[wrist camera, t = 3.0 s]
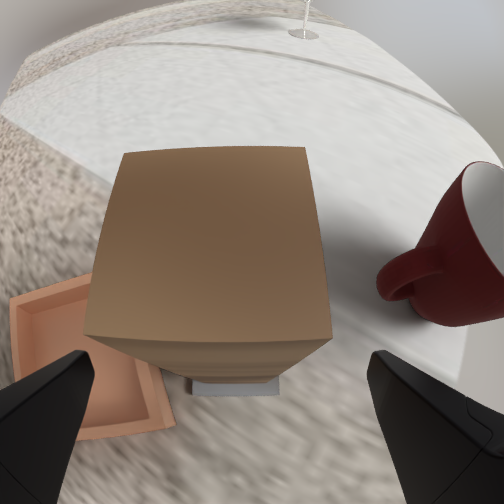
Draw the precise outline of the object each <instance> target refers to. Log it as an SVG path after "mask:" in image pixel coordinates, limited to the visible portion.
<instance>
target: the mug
mask: <svg viewBox="0 0 504 504" xmlns="http://www.w3.org/2000/svg"><path fill="white" fill-rule="evenodd" d="M376 284H377V289H378V292H379V294H380V296H381V297H382V298H383V299H385V300H386V301H398V300H402V299H406V298H409V301H410V304H411V306H412V307H413V309H414V310H415V311H416V312H417V313H418V314H419V315H420V316H421V317H423V318H425V319H427V320H429V321H431V322H434V323H436V324H439V325H443V326H448V327H458V326H465V325H470V324H476V323H480V322H485V321H490V320H495V319H499V318H503V317H504V169H502V168H500V167H498V166H496V165H494V164H491V163H488V162H482V161H478V162H473V163H470V164H469V165H467V166H466V167H465V168H464V170H463V171H462V172H461V173H460V175H459V176H458V177H457V178H456V180H455V181H454V182H453V183H452V185H451V186H450V187H449V189H448V190H447V191H446V193H445V194H444V196H443V197H442V199H441V200H440V202H439V204H438V205H437V207H436V209H435V211H434V213H433V215H432V217H431V219H430V221H429V223H428V225H427V227H426V229H425V231H424V233H423V235H422V237H421V238H420V240H419V242H418V244H417V246H416V248H415V249H412V250H410V251H407V252H405V253H403V254H401V255H400V256H398V257H396V258H394V259H393V260H391V261H390V262H388V263H387V264H386V265H385V266H384V267H383V268H382V269H381V270H380V272H379V274H378V275H377V280H376Z"/></svg>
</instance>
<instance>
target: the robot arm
mask: <svg viewBox="0 0 504 504" xmlns="http://www.w3.org/2000/svg"><path fill="white" fill-rule="evenodd" d="M94 378H95V371H94V367H93V365H92V362H91V359H90V356H89V353H88V352H87V351H85V350H74V351H72V352H70V353H68V354H67V355H65V356H63V357H61V358H59V359H57V360H56V361H54V362H52V363H50V364H48V365H46V366H44V367H43V368H41V369H39V370H37V371H35V372H33V373H32V374H30V375H28V376H26V377H24V378H22V379H20V380H19V381H17V382H15V383H13V384H11V385H9V386H8V387H6V388H4V389H2V390H0V504H57V501H58V497H59V493H60V490H61V486H62V483H63V479H64V476H65V472H66V469H67V466H68V463H69V459H70V456H71V453H72V450H73V447H74V444H75V441H76V438H77V435H78V432H79V430H80V427H81V424H82V421H83V418H84V415H85V412H86V408H87V404H88V400H89V396H90V393H91V389H92V385H93V381H94ZM367 380H368V384H369V387H370V391H371V395H372V399H373V404H374V408H375V412H376V415H377V418H378V421H379V424H380V427H381V430H382V432H383V435H384V438H385V441H386V443H387V446H388V449H389V452H390V455H391V458H392V460H393V463H394V466H395V469H396V472H397V475H398V478H399V481H400V484H401V487H402V490H403V493H404V497H405V500H406V503H407V504H504V415H503V414H501V413H498V412H496V411H494V410H492V409H490V408H488V407H485V406H484V405H482V404H480V403H478V402H476V401H474V400H473V399H471V398H469V397H465V395H463V394H462V393H460V392H458V391H456V390H455V389H453V388H451V387H449V386H447V385H446V384H444V383H442V382H440V381H439V380H437V379H435V378H433V377H431V376H430V375H428V374H426V373H424V372H423V371H421V370H419V369H417V368H416V367H414V366H412V365H410V364H409V363H407V362H405V361H403V360H402V359H400V358H398V357H396V356H395V355H393V354H391V353H390V352H388V351H386V350H380V351H374V352H373V353H372V355H371V358H370V362H369V366H368V369H367Z"/></svg>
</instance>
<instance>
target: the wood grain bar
mask: <svg viewBox="0 0 504 504" xmlns="http://www.w3.org/2000/svg"><path fill="white" fill-rule="evenodd" d="M83 335H85V336H87V337H89V338H91V339H93V340H96V341H98V342H100V343H102V344H104V345H106V346H109V347H111V348H113V349H115V350H118V351H120V352H122V353H125V354H127V355H129V356H132V357H134V358H137V359H139V360H142V361H144V362H147V363H149V364H152V365H154V366H157V367H160V368H162V369H165V370H168V371H170V372H173V373H176V374H179V375H182V376H185V377H187V378H190V379H193V388H192V395H198V396H269V395H279V375H280V374H281V373H283V372H284V371H286V370H287V369H289V368H291V367H292V366H294V365H295V364H297V363H298V362H300V361H301V360H302V359H304V358H305V357H307V356H308V355H310V354H311V353H313V352H314V351H315V350H317V349H318V348H320V347H321V346H323V345H324V344H325V343H327V342H328V341H330V340H331V339H332V338H333V336H332V325H331V315H330V306H329V297H328V288H327V280H326V272H325V264H324V257H323V250H322V243H321V236H320V229H319V223H318V216H317V210H316V204H315V198H314V193H313V187H312V181H311V176H310V170H309V165H308V160H307V155H306V150H305V147H284V146H223V147H196V148H178V149H163V150H151V151H140V152H130V153H124V155H123V158H122V161H121V164H120V167H119V170H118V173H117V176H116V179H115V183H114V186H113V189H112V193H111V196H110V200H109V203H108V207H107V210H106V214H105V218H104V222H103V226H102V230H101V234H100V238H99V243H98V247H97V252H96V256H95V261H94V266H93V271H92V277H91V282H90V288H89V294H88V300H87V307H86V314H85V321H84V329H83Z"/></svg>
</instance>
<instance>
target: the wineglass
mask: <svg viewBox="0 0 504 504" xmlns="http://www.w3.org/2000/svg"><path fill="white" fill-rule="evenodd" d="M303 1H305V11H304V25H303V29H292V30H290V31H289V34H291V35H293V36H295V37H298V38H303V39H316V38H318V37H319V36H318V34H317V33H315V32H313V31H310V30H306V24H307V18H308V12H309V6H310V2H312V1H313V0H303Z"/></svg>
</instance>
